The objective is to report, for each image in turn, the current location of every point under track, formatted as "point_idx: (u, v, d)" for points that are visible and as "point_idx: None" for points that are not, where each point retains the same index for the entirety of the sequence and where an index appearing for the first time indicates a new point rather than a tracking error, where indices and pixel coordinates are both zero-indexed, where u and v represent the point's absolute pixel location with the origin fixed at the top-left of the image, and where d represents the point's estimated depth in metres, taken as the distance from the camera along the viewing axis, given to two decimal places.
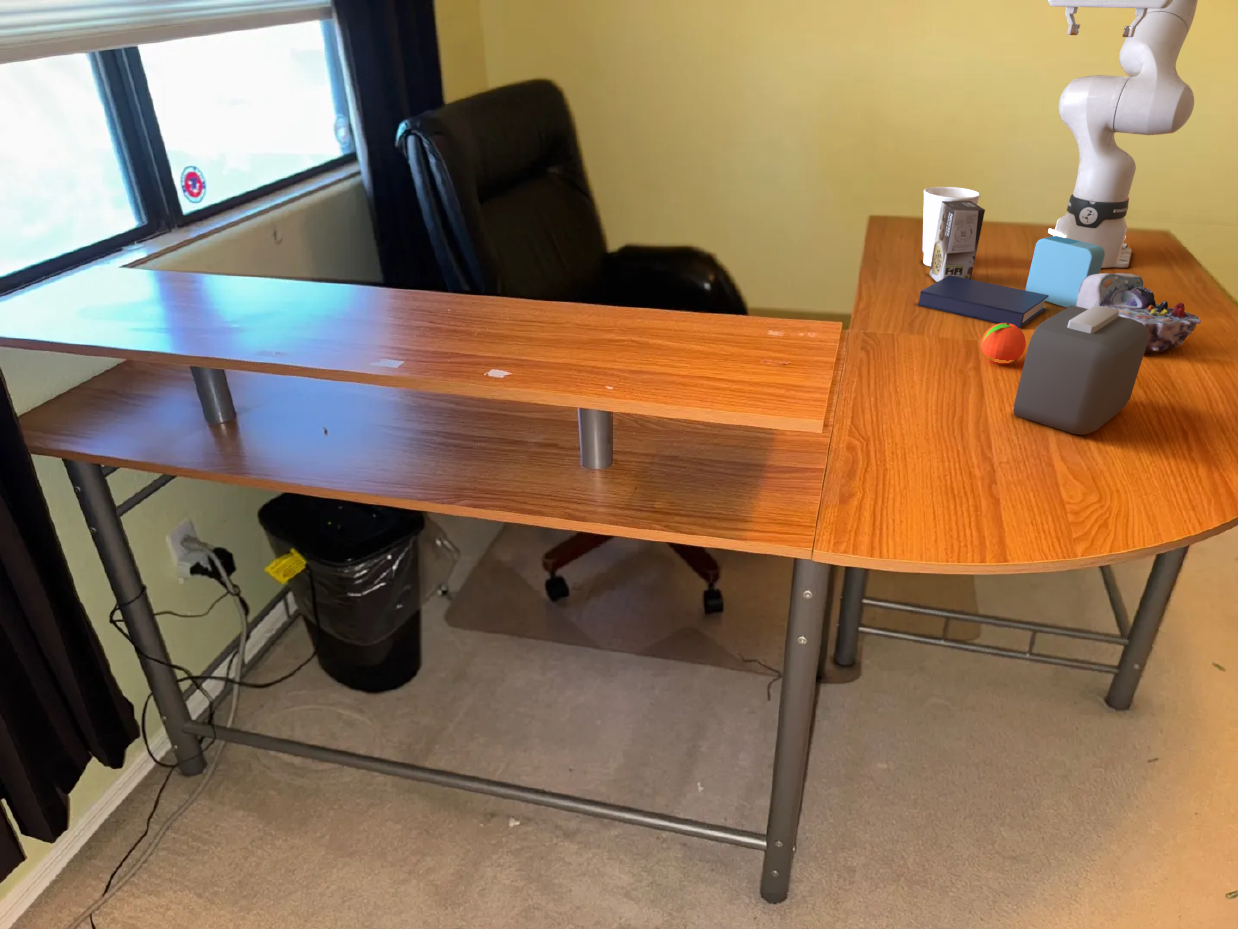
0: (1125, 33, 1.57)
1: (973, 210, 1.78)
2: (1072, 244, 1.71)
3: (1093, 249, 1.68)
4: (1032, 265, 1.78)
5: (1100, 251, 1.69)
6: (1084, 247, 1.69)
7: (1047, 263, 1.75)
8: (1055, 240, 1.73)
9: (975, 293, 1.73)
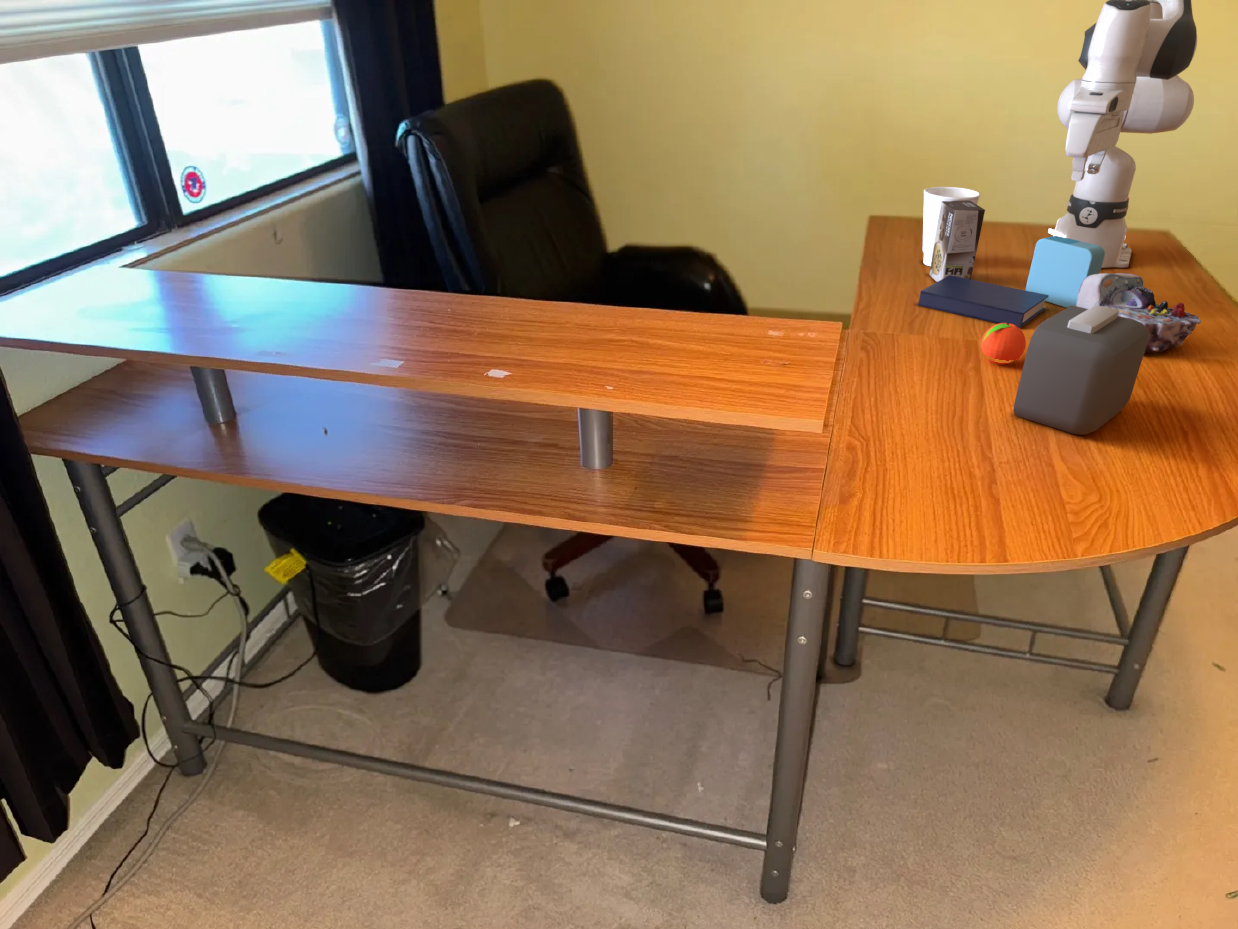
0: (1098, 171, 1.69)
1: (973, 210, 1.78)
2: (1072, 244, 1.71)
3: (1093, 249, 1.68)
4: (1032, 265, 1.78)
5: (1100, 251, 1.69)
6: (1084, 247, 1.69)
7: (1047, 263, 1.75)
8: (1055, 240, 1.73)
9: (975, 293, 1.73)
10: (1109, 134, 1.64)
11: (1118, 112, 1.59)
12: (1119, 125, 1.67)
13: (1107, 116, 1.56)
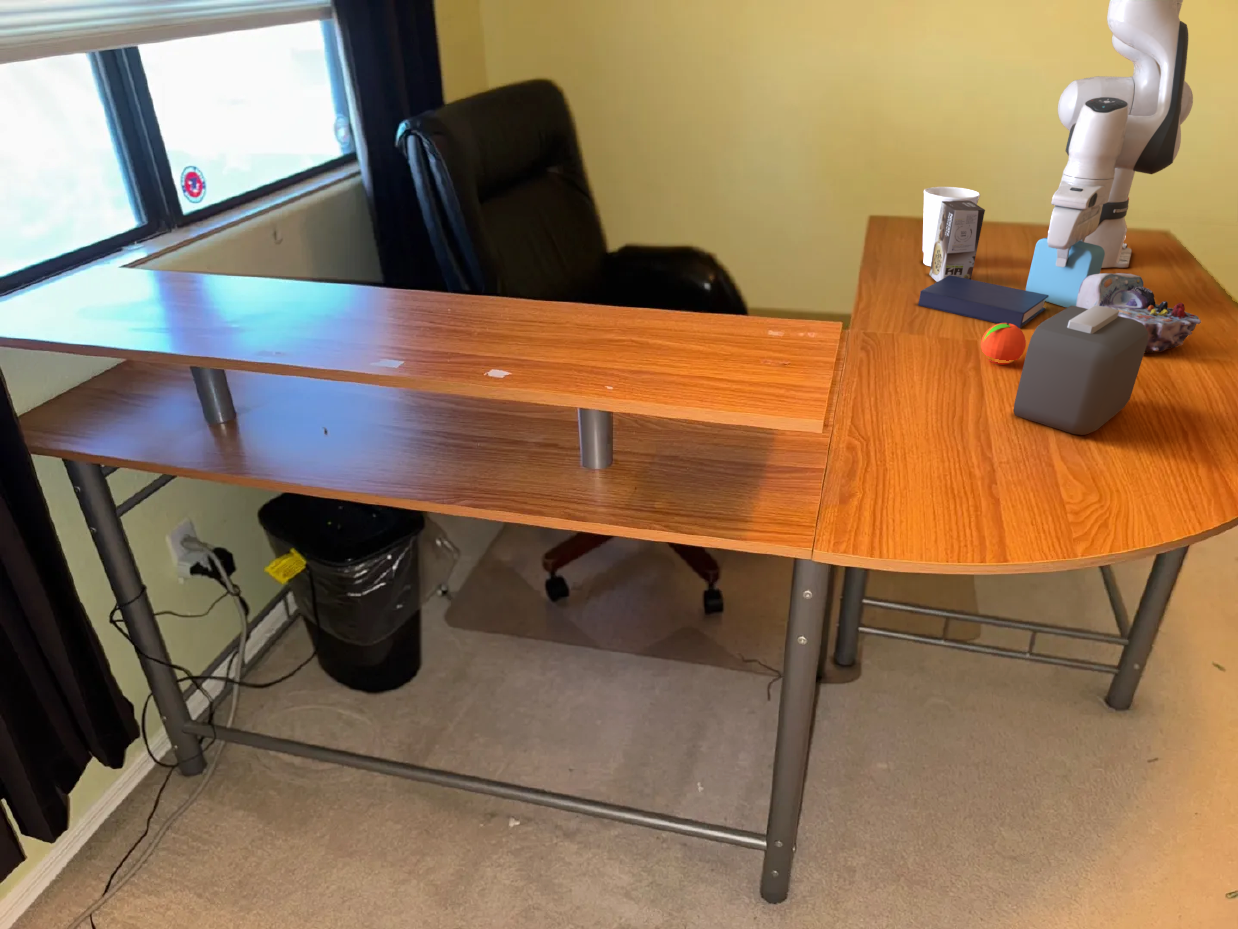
0: None
1: (973, 210, 1.78)
2: None
3: (1093, 249, 1.68)
4: (1032, 265, 1.78)
5: (1100, 251, 1.69)
6: (1084, 247, 1.69)
7: (1047, 263, 1.75)
8: None
9: (975, 293, 1.73)
10: (1089, 223, 1.71)
11: (1097, 205, 1.66)
12: (1099, 212, 1.74)
13: (1086, 210, 1.63)
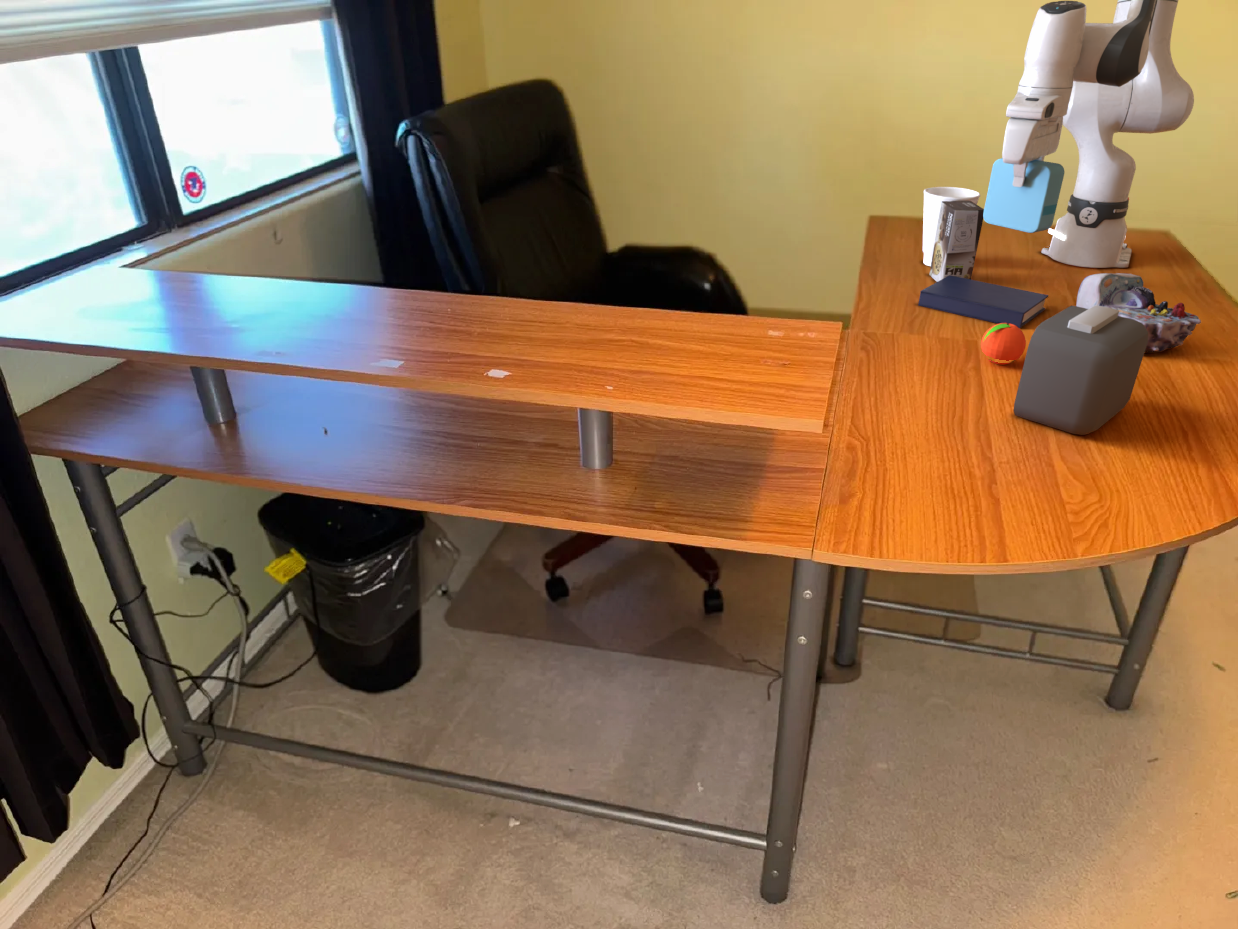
0: None
1: (973, 210, 1.78)
2: (1030, 162, 1.60)
3: (1051, 166, 1.58)
4: (989, 188, 1.67)
5: (1059, 169, 1.58)
6: (1042, 164, 1.58)
7: (1004, 185, 1.65)
8: None
9: (975, 293, 1.73)
10: (1048, 140, 1.61)
11: (1055, 118, 1.56)
12: (1058, 131, 1.64)
13: (1043, 121, 1.53)
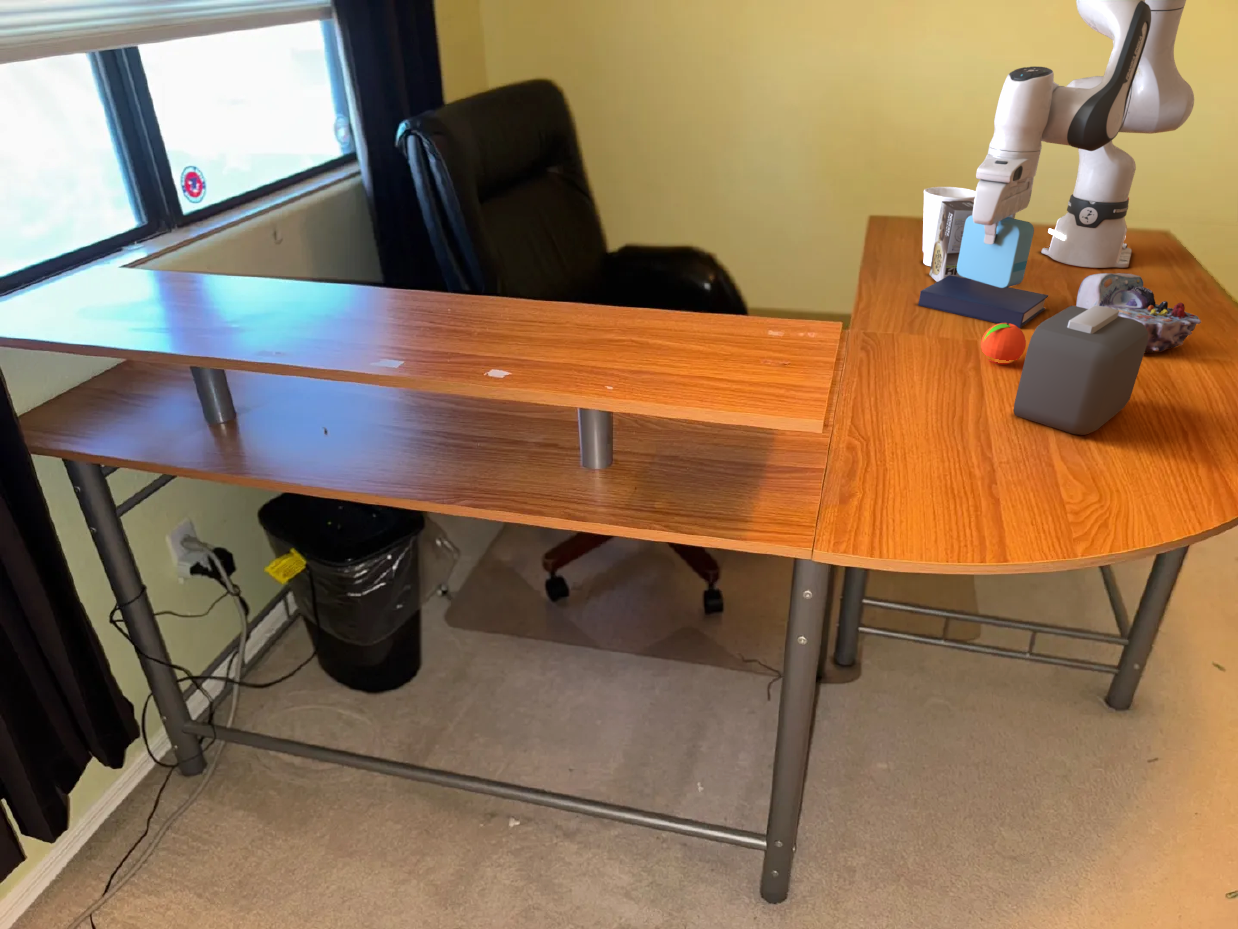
0: None
1: None
2: (1001, 220, 1.64)
3: (1021, 225, 1.62)
4: (962, 243, 1.72)
5: (1029, 227, 1.62)
6: (1012, 223, 1.62)
7: (976, 241, 1.69)
8: None
9: (975, 293, 1.73)
10: (1018, 198, 1.65)
11: (1025, 179, 1.60)
12: (1029, 188, 1.68)
13: (1012, 184, 1.57)
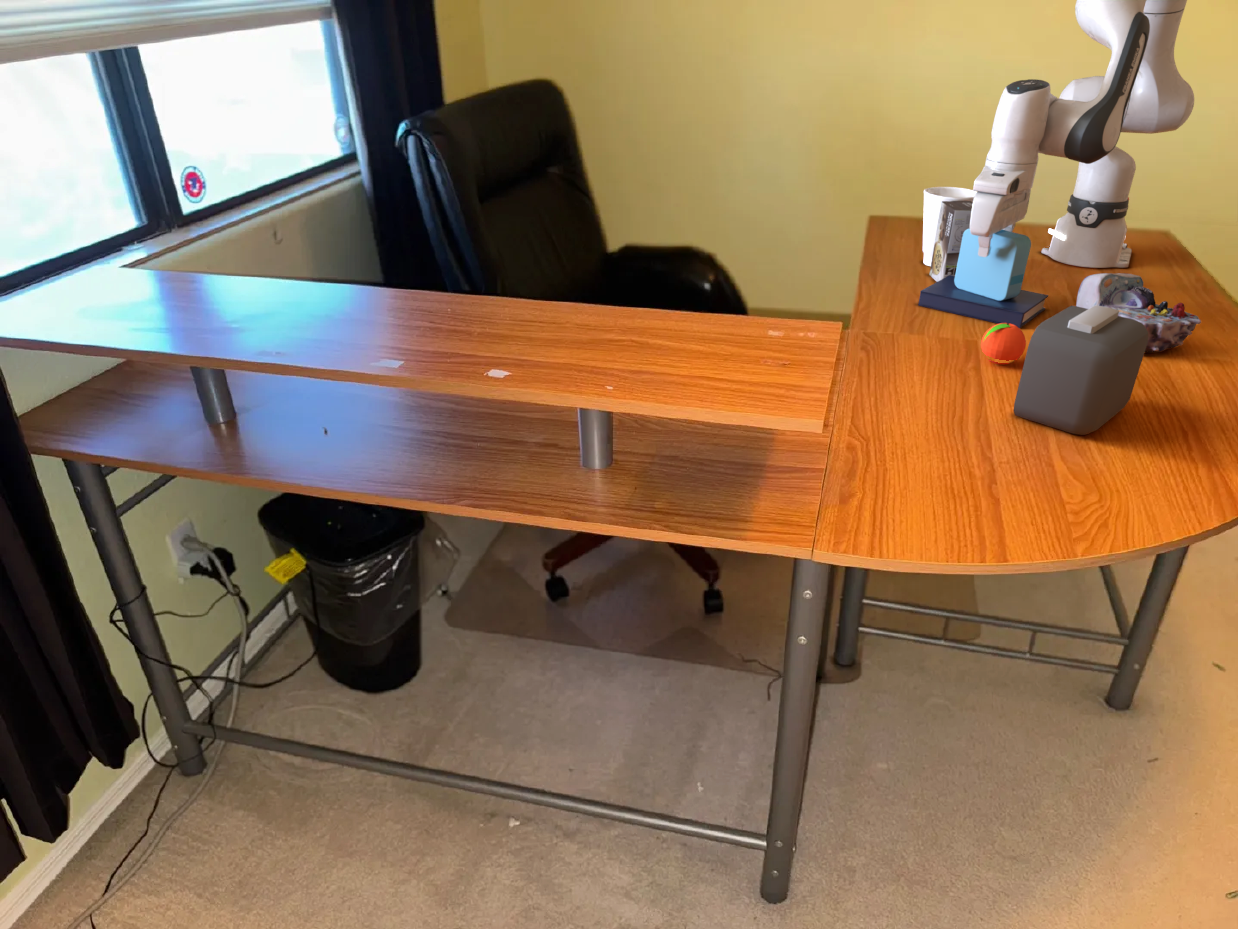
0: None
1: None
2: (998, 234, 1.66)
3: (1018, 238, 1.63)
4: (960, 256, 1.73)
5: (1026, 241, 1.64)
6: (1010, 237, 1.64)
7: (974, 254, 1.70)
8: None
9: None
10: (1015, 210, 1.66)
11: (1021, 190, 1.61)
12: (1026, 199, 1.69)
13: (1008, 196, 1.58)
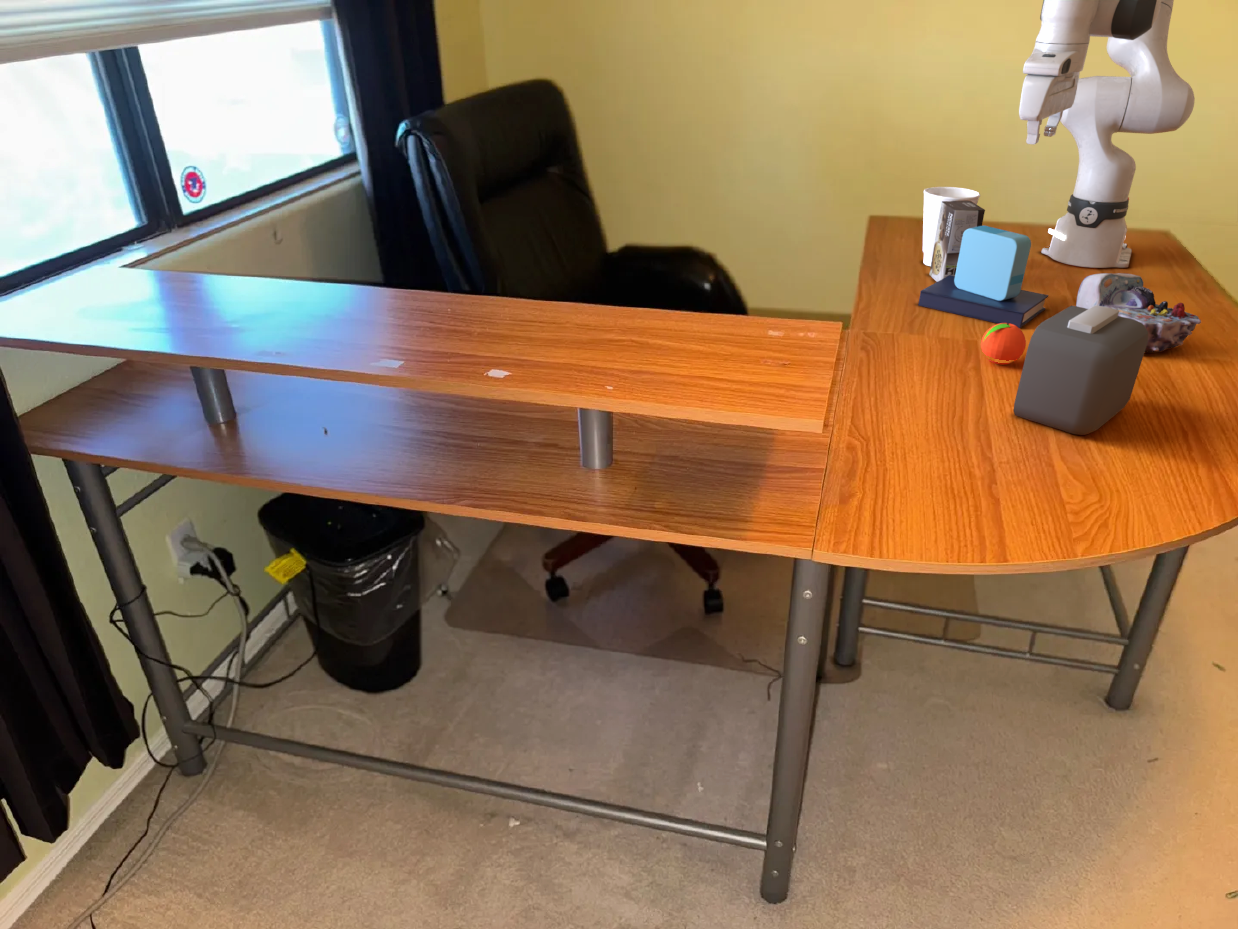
0: (1054, 133, 1.68)
1: (973, 210, 1.78)
2: (998, 234, 1.66)
3: (1018, 238, 1.63)
4: (960, 256, 1.73)
5: (1026, 241, 1.64)
6: (1010, 237, 1.64)
7: (974, 254, 1.70)
8: (981, 230, 1.68)
9: None
10: (1064, 96, 1.63)
11: (1072, 73, 1.58)
12: (1075, 86, 1.66)
13: (1060, 78, 1.55)
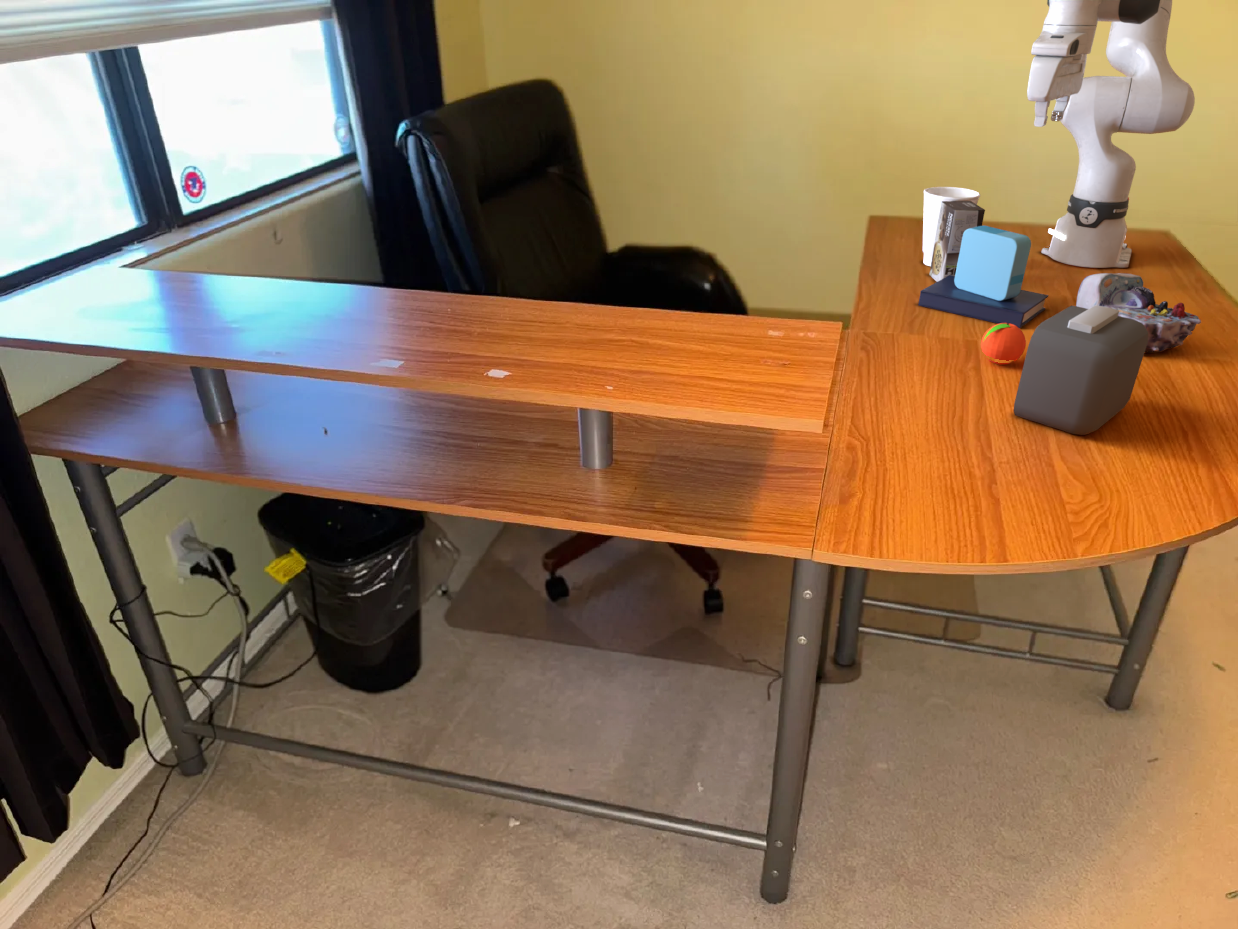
0: (1061, 118, 1.69)
1: (973, 210, 1.78)
2: (998, 234, 1.66)
3: (1018, 238, 1.63)
4: (960, 256, 1.73)
5: (1026, 241, 1.64)
6: (1010, 237, 1.64)
7: (974, 254, 1.70)
8: (982, 230, 1.68)
9: None
10: (1071, 79, 1.63)
11: (1080, 56, 1.59)
12: (1082, 71, 1.66)
13: (1068, 59, 1.55)
